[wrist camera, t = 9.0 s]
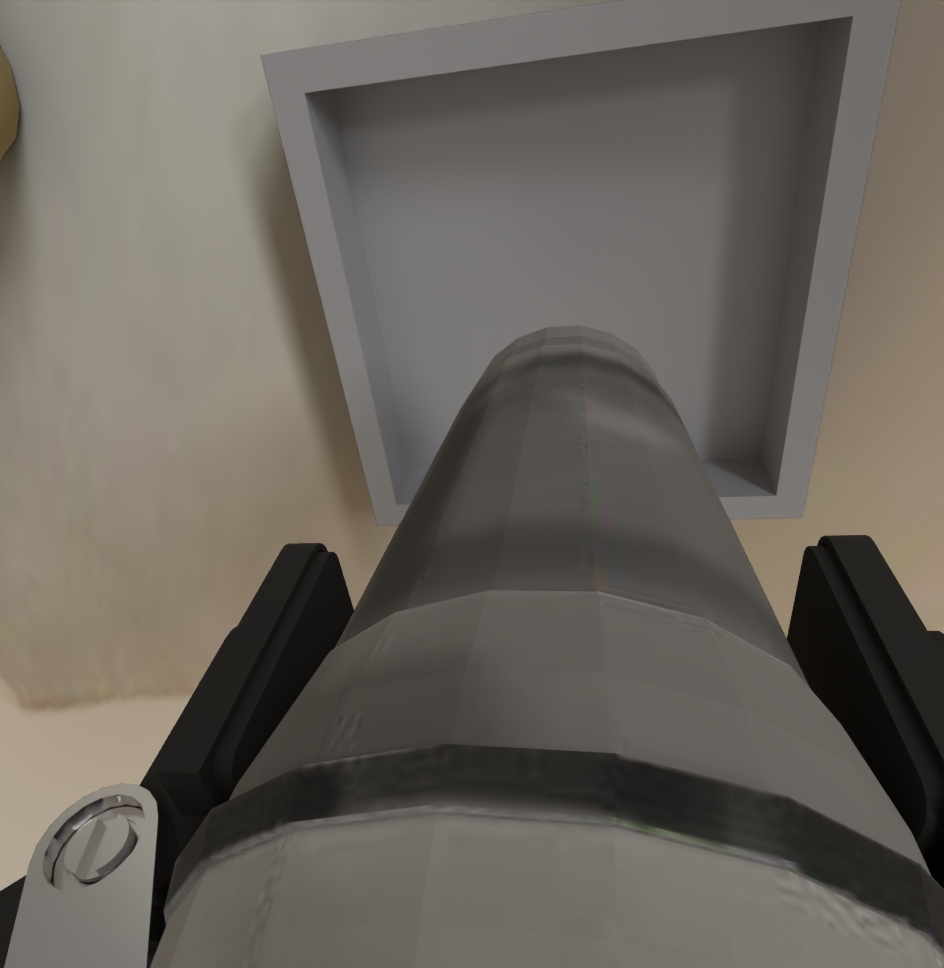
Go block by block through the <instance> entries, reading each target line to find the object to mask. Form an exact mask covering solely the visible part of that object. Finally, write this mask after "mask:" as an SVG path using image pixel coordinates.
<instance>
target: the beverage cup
mask: <svg viewBox="0 0 944 968" xmlns="http://www.w3.org/2000/svg"><path fill="white" fill-rule="evenodd" d="M164 916H165V924H166V928H165V931H164V933H163V936H162V938H161V941H160V943H159V946H158V948H157V951H156V953H155V956H154V958H153V961H152V964H151V966H150V968H944V889H943V888H942V887H941V886H940V885H939V884H938V883H937V882H936V881H935V880H934V878H933V877H932V876H931V874H930V872H929V870H928V867H927V865H926V863H925V861H924V858H923V856H922V854H921V852H920V850H919V847H918V845H917V843H916V841H915V839H914V836H913V834H912V832H911V830H910V829H909V827H908V826H907V824H906V823H905V821H904V820H903V818H902V817H901V815H900V814H899V812H898V811H897V809H896V808H895V806H894V804H893V803H892V801H891V800H890V798H889V797H888V795H887V794H886V792H885V791H884V789H883V788H882V786H881V785H880V783H879V782H878V780H877V778H876V777H875V775H874V774H873V772H872V771H871V769H870V768H869V766H868V765H867V763H866V762H865V760H864V759H863V757H862V756H861V754H860V753H859V751H858V749H857V748H856V746H855V745H854V743H853V742H852V740H851V739H850V737H849V736H848V734H847V733H846V731H845V730H844V728H843V727H842V725H841V724H840V723H839V721H838V720H837V719H836V718H835V717H834V716H833V714H832V713H831V712H830V711H829V710H828V709H827V708H826V706H825V705H824V704H823V703H822V702H821V701H820V699H819V698H818V697H817V696H816V695H815V694H814V693H813V691H812V690H811V689H810V687H809V685H808V682H807V680H806V678H805V676H804V674H803V672H802V670H801V668H800V666H799V664H798V662H797V660H796V657H795V655H794V653H793V651H792V649H791V647H790V645H789V643H788V641H787V639H786V637H785V635H784V632H783V630H782V628H781V626H780V624H779V622H778V620H777V618H776V616H775V614H774V612H773V609H772V607H771V605H770V603H769V601H768V599H767V597H766V595H765V593H764V591H763V589H762V587H761V584H760V582H759V580H758V578H757V576H756V574H755V572H754V570H753V568H752V566H751V564H750V562H749V559H748V557H747V555H746V553H745V551H744V549H743V547H742V545H741V543H740V541H739V539H738V536H737V534H736V532H735V530H734V528H733V526H732V524H731V522H730V520H729V518H728V516H727V514H726V511H725V509H724V507H723V505H722V503H721V501H720V499H719V497H718V495H717V493H716V491H715V489H714V486H713V484H712V482H711V480H710V478H709V476H708V474H707V472H706V470H705V468H704V466H703V463H702V461H701V459H700V457H699V455H698V453H697V451H696V449H695V447H694V445H693V443H692V441H691V438H690V436H689V434H688V432H687V430H686V428H685V426H684V424H683V422H682V420H681V418H680V415H679V413H678V411H677V409H676V407H675V405H674V403H673V401H672V399H671V398H670V397H669V396H668V394H667V393H666V392H665V390H664V389H663V388H662V387H661V385H660V384H659V383H658V379H657V376H656V373H655V372H654V371H653V369H652V368H651V367H650V365H649V364H648V363H647V362H646V360H645V359H644V358H643V357H642V355H641V354H640V353H639V351H638V350H637V349H635V348H634V347H632V346H630V345H629V344H627V343H626V342H624V341H623V340H621V339H619V338H618V337H616V336H615V335H613V334H612V333H608V332H604V331H600V330H596V329H593V328H589V327H585V326H581V325H576V326H557V327H546V328H543V329H541V330H538V331H535V332H533V333H530V334H527V335H524V336H522V337H519V338H517V339H516V340H515V341H513V342H512V343H511V344H509V345H508V346H507V347H506V348H504V349H503V350H502V351H501V352H499V353H498V354H497V355H495V356H494V357H493V359H492V361H491V362H490V364H489V365H488V367H487V368H486V370H485V371H484V373H483V374H482V376H481V377H480V379H479V381H478V382H477V384H476V385H475V387H474V388H473V390H472V391H471V393H470V394H469V396H468V397H467V399H466V400H465V402H464V403H463V405H462V407H461V408H460V410H459V412H458V414H457V416H456V418H455V420H454V422H453V424H452V425H451V427H450V429H449V431H448V433H447V435H446V437H445V439H444V441H443V443H442V444H441V446H440V448H439V450H438V452H437V454H436V456H435V458H434V460H433V462H432V464H431V465H430V467H429V469H428V471H427V473H426V475H425V477H424V479H423V481H422V483H421V485H420V486H419V488H418V490H417V492H416V494H415V496H414V498H413V500H412V502H411V504H410V505H409V507H408V509H407V511H406V513H405V515H404V517H403V519H402V521H401V523H400V525H399V526H398V528H397V530H396V532H395V534H394V536H393V538H392V540H391V542H390V544H389V545H388V547H387V549H386V551H385V553H384V555H383V557H382V559H381V561H380V563H379V565H378V566H377V568H376V570H375V572H374V574H373V576H372V578H371V580H370V582H369V584H368V586H367V587H366V589H365V591H364V593H363V595H362V597H361V599H360V601H359V603H358V605H357V606H356V608H355V610H354V612H353V614H352V616H351V618H350V620H349V622H348V624H347V626H346V627H345V629H344V631H343V633H342V635H341V637H340V639H339V641H338V643H337V645H336V646H335V648H334V649H333V650H331V651H330V652H329V653H328V655H327V656H326V658H325V659H324V661H323V662H322V663H321V665H320V666H319V668H318V669H317V671H316V672H315V673H314V675H313V676H312V678H311V679H310V681H309V682H308V683H307V685H306V686H305V688H304V689H303V691H302V692H301V693H300V695H299V696H298V698H297V699H296V701H295V702H294V703H293V705H292V706H291V708H290V709H289V711H288V712H287V713H286V715H285V716H284V718H283V719H282V721H281V722H280V723H279V725H278V726H277V728H276V729H275V731H274V732H273V733H272V735H271V736H270V738H269V739H268V741H267V742H266V743H265V745H264V746H263V748H262V749H261V751H260V752H259V753H258V755H257V756H256V758H255V759H254V761H253V762H252V763H251V765H250V766H249V768H248V769H247V771H246V772H245V773H244V775H243V776H242V778H241V779H240V781H239V782H238V784H237V785H236V787H235V789H234V791H233V793H232V795H231V797H230V799H229V801H227V802H225V803H223V804H221V805H219V806H217V807H215V808H213V809H211V810H210V812H209V813H208V815H207V816H206V818H205V819H204V821H203V822H202V824H201V825H200V827H199V828H198V830H197V831H196V832H195V834H194V835H193V837H192V838H191V840H190V841H189V843H188V844H187V846H186V847H185V849H184V850H183V852H182V853H181V854H180V856H179V857H178V859H177V860H176V862H175V865H174V869H173V874H172V878H171V882H170V886H169V890H168V894H167V899H166V903H165V907H164Z"/></svg>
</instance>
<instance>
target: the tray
mask: <svg viewBox="0 0 944 968" xmlns="http://www.w3.org/2000/svg"><path fill="white" fill-rule="evenodd" d="M900 2H901V0H619V1H612V2H605V3H599V4H592V5H586V6H579V7H573V8H566V9H560V10H553V11H547V12H540V13H534V14H527V15H520V16H514V17H507V18H501V19H494V20H488V21H481V22H475V23H468V24H462V25H455V26H448V27H442V28H435V29H429V30H422V31H416V32H409V33H403V34H396V35H390V36H383V37H377V38H370V39H363V40H357V41H350V42H344V43H337V44H331V45H324V46H318V47H311V48H305V49H298V50H291V51H285V52H278V53H272V54H265V55H260V56H261V60H262V64H263V68H264V72H265V76H266V80H267V84H268V88H269V92H270V96H271V100H272V104H273V108H274V112H275V116H276V120H277V125H278V129H279V133H280V137H281V141H282V145H283V149H284V153H285V157H286V161H287V165H288V169H289V173H290V177H291V181H292V185H293V189H294V193H295V197H296V201H297V205H298V209H299V213H300V217H301V221H302V225H303V229H304V233H305V237H306V241H307V245H308V249H309V253H310V257H311V261H312V265H313V269H314V273H315V277H316V282H317V286H318V290H319V294H320V298H321V302H322V306H323V310H324V314H325V318H326V322H327V326H328V330H329V334H330V338H331V342H332V346H333V350H334V354H335V358H336V362H337V366H338V370H339V374H340V378H341V382H342V386H343V390H344V394H345V398H346V402H347V406H348V410H349V414H350V418H351V422H352V426H353V430H354V434H355V439H356V443H357V447H358V451H359V455H360V459H361V463H362V467H363V471H364V475H365V479H366V483H367V487H368V491H369V495H370V499H371V503H372V507H373V511H374V515H375V519H376V523H377V526H378V525H400V523H401V521H402V519H403V517H404V515H405V513H406V511H407V509H408V507H409V505H410V504H411V502H412V500H413V498H414V496H415V494H416V492H417V490H418V488H419V486H420V485H421V483H422V481H423V479H424V477H425V475H426V473H427V471H428V469H429V467H430V465H431V464H432V462H433V460H434V458H435V456H436V454H437V452H438V450H439V448H440V446H441V444H442V443H443V441H444V439H445V437H446V435H447V433H448V431H449V429H450V427H451V425H452V424H453V422H454V420H455V418H456V416H457V414H458V412H459V410H460V408H461V407H462V405H463V403H464V402H465V400H466V399H467V397H468V396H469V394H470V393H471V391H472V390H473V388H474V387H475V385H476V384H477V382H478V381H479V379H480V377H481V376H482V374H483V373H484V371H485V370H486V368H487V367H488V365H489V364H490V362H491V361H492V359H493V357H494V356H495V355H497V354H498V353H499V352H501V351H502V350H503V349H504V348H506V347H507V346H508V345H509V344H511V343H512V342H513V341H515V340H516V339H517V338H519V337H522V336H524V335H527V334H530V333H533V332H535V331H538V330H541V329H543V328H546V327H557V326H576V325H581V326H585V327H589V328H593V329H596V330H600V331H604V332H608V333H612V334H613V335H615V336H616V337H618V338H619V339H621V340H623V341H624V342H626V343H627V344H629V345H630V346H632V347H634V348H635V349H637V350H638V351H639V353H640V354H641V355H642V357H643V358H644V359H645V360H646V362H647V363H648V364H649V365H650V367H651V368H652V369H653V371H654V372H655V373H656V376H657V379H658V383H659V384H660V385H661V387H662V388H663V389H664V390H665V392H666V393H667V394H668V396H669V397H670V398H671V399H672V401H673V403H674V405H675V407H676V409H677V411H678V413H679V415H680V418H681V420H682V422H683V424H684V426H685V428H686V430H687V432H688V434H689V436H690V438H691V441H692V443H693V445H694V447H695V449H696V451H697V453H698V455H699V457H700V459H701V461H702V463H703V466H704V468H705V470H706V472H707V474H708V476H709V478H710V480H711V482H712V484H713V486H714V489H715V491H716V493H717V495H718V497H719V499H720V501H721V503H722V505H723V507H724V509H725V511H726V514H727V516H728V518H729V519H774V518H802V517H803V512H804V506H805V501H806V496H807V491H808V485H809V480H810V475H811V470H812V464H813V459H814V454H815V449H816V443H817V438H818V433H819V428H820V422H821V417H822V412H823V407H824V401H825V396H826V391H827V386H828V380H829V375H830V370H831V365H832V359H833V354H834V349H835V344H836V338H837V333H838V328H839V323H840V317H841V312H842V307H843V302H844V296H845V291H846V286H847V281H848V275H849V270H850V265H851V259H852V254H853V249H854V244H855V238H856V233H857V228H858V223H859V217H860V212H861V207H862V202H863V196H864V191H865V186H866V181H867V175H868V170H869V165H870V160H871V154H872V149H873V144H874V139H875V133H876V128H877V123H878V118H879V112H880V107H881V102H882V97H883V91H884V86H885V81H886V76H887V70H888V65H889V60H890V55H891V49H892V44H893V39H894V34H895V28H896V23H897V18H898V13H899V7H900Z"/></svg>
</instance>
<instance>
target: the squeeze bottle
mask: <svg viewBox="0 0 944 968" xmlns="http://www.w3.org/2000/svg"><path fill="white" fill-rule="evenodd" d="M19 110H20V103H19V99H18V94H17V90H16V86H15V82H14V78H13V73H12V69H11V65H10V63H9V62H8V60H7V58H6V56H5V54H4V52H3V51H2V49H1V47H0V160H1V159H2V157H3V156H4V154H5V153H6V151H7V150H8V149H9V147H10V146H11V144H12V143H13V142H14V140H15V139H16V136H17V127H18V118H19Z"/></svg>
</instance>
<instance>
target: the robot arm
mask: <svg viewBox="0 0 944 968" xmlns="http://www.w3.org/2000/svg"><path fill="white" fill-rule="evenodd" d="M353 612H354V609H353V606H352V603H351V599H350V596H349V593H348V589H347V586H346V583H345V579H344V576H343V572H342V569H341V566H340V562H339V559H338V557H337V555H336V554H335V553H334V552H328V551H327V549H326V547H325V546H324V545H323V544H321V543H299V544H287V545H285V546H284V547H283V549H282V550H281V552H280V553H279V555H278V557H277V559H276V560H275V562H274V564H273V566H272V567H271V569H270V571H269V572H268V574H267V576H266V578H265V579H264V581H263V583H262V585H261V586H260V588H259V590H258V592H257V593H256V595H255V597H254V598H253V600H252V602H251V604H250V605H249V607H248V609H247V611H246V612H245V614H244V616H243V617H242V619H241V621H240V623H239V624H238V626H237V627H235V628H234V629H232V631H231V632H230V633H229V634H228V636H227V637H226V639H225V640H224V642H223V644H222V645H221V647H220V649H219V651H218V652H217V654H216V656H215V657H214V659H213V661H212V663H211V664H210V666H209V668H208V669H207V671H206V673H205V675H204V676H203V678H202V680H201V681H200V683H199V685H198V686H197V688H196V690H195V692H194V693H193V695H192V697H191V698H190V700H189V702H188V704H187V705H186V707H185V709H184V710H183V712H182V714H181V716H180V717H179V719H178V721H177V723H176V724H175V726H174V727H173V729H172V731H171V733H170V734H169V736H168V738H167V739H166V741H165V743H164V745H163V746H162V748H161V750H160V751H159V753H158V755H157V757H156V758H155V760H154V762H153V763H152V765H151V767H150V768H149V770H148V772H147V774H146V775H145V777H144V779H143V780H142V782H141V784H140V786H139V785H136V784H117V785H112V786H108V787H103V788H101V789H99V790H97V791H95V792H93V793H91V794H88V795H87V796H84V797H83V798H81V799H80V800H78V801H77V802H76V803H74V804H73V805H71V806H70V807H69V808H67V809H66V810H65V811H64V812H63V813H62V814H61V815H60V816H59V817H58V818H57V819H56V820H55V821H54V822H53V823H52V824H51V825H50V826H49V827H48V829H47V830H46V832H45V833H44V835H43V836H42V838H41V839H40V841H39V842H38V844H37V845H36V848H35V850H34V853H33V855H32V858H31V861H30V863H29V867H28V871H27V875H26V876H24V877H23V878H21V879H19V880H18V881H16V882H14V883H13V884H11V885H10V886H8V887H6V888H5V889H3V890H2V891H0V968H150V966H151V964H152V961H153V958H154V956H155V953H156V951H157V948H158V946H159V943H160V941H161V938H162V936H163V933H164V931H165V928H166V924H165V916H164V907H165V903H166V899H167V894H168V890H169V886H170V882H171V878H172V874H173V869H174V865H175V862H176V860H177V859H178V857H179V856H180V854H181V853H182V852H183V850H184V849H185V847H186V846H187V844H188V843H189V841H190V840H191V838H192V837H193V835H194V834H195V832H196V831H197V830H198V828H199V827H200V825H201V824H202V822H203V821H204V819H205V818H206V816H207V815H208V813H209V812H210V810H211V809H213V808H215V807H217V806H219V805H221V804H223V803H225V802H227V801H229V799H230V797H231V795H232V793H233V791H234V789H235V787H236V785H237V784H238V782H239V781H240V779H241V778H242V776H243V775H244V773H245V772H246V771H247V769H248V768H249V766H250V765H251V763H252V762H253V761H254V759H255V758H256V756H257V755H258V753H259V752H260V751H261V749H262V748H263V746H264V745H265V743H266V742H267V741H268V739H269V738H270V736H271V735H272V733H273V732H274V731H275V729H276V728H277V726H278V725H279V723H280V722H281V721H282V719H283V718H284V716H285V715H286V713H287V712H288V711H289V709H290V708H291V706H292V705H293V703H294V702H295V701H296V699H297V698H298V696H299V695H300V693H301V692H302V691H303V689H304V688H305V686H306V685H307V683H308V682H309V681H310V679H311V678H312V676H313V675H314V673H315V672H316V671H317V669H318V668H319V666H320V665H321V663H322V662H323V661H324V659H325V658H326V656H327V655H328V653H329V652H330V651H331V650H333V649H334V648H335V646H336V645H337V643H338V641H339V639H340V637H341V635H342V633H343V631H344V629H345V627H346V626H347V624H348V622H349V620H350V618H351V616H352V614H353ZM787 641H788V643H789V645H790V647H791V649H792V651H793V653H794V655H795V657H796V660H797V662H798V664H799V666H800V668H801V670H802V672H803V674H804V676H805V678H806V680H807V682H808V685H809V687H810V689H811V690H812V691H813V693H814V694H815V695H816V696H817V697H818V698H819V699H820V701H821V702H822V703H823V704H824V705H825V706H826V708H827V709H828V710H829V711H830V712H831V713H832V714H833V716H834V717H835V718H836V719H837V720H838V721H839V723H840V724H841V725H842V727H843V728H844V730H845V731H846V733H847V734H848V736H849V737H850V739H851V740H852V742H853V743H854V745H855V746H856V748H857V749H858V751H859V753H860V754H861V756H862V757H863V759H864V760H865V762H866V763H867V765H868V766H869V768H870V769H871V771H872V772H873V774H874V775H875V777H876V778H877V780H878V782H879V783H880V785H881V786H882V788H883V789H884V791H885V792H886V794H887V795H888V797H889V798H890V800H891V801H892V803H893V804H894V806H895V808H896V809H897V811H898V812H899V814H900V815H901V817H902V818H903V820H904V821H905V823H906V824H907V826H908V827H909V829H910V830H911V832H912V834H913V836H914V839H915V841H916V843H917V845H918V847H919V850H920V852H921V854H922V856H923V858H924V861H925V863H926V865H927V867H928V870H929V872H930V874H931V876H932V877H933V878H934V880H935V881H936V882H937V883H938V884H939V885H940V886H941V887H942V888H943V889H944V634H943V633H941V632H940V631H927V629H926V628H925V626H924V624H923V623H922V621H921V619H920V618H919V616H918V614H917V613H916V611H915V609H914V608H913V606H912V604H911V603H910V601H909V599H908V598H907V596H906V594H905V593H904V591H903V589H902V588H901V586H900V584H899V583H898V581H897V579H896V578H895V576H894V574H893V573H892V571H891V569H890V568H889V566H888V564H887V563H886V561H885V559H884V558H883V556H882V554H881V553H880V551H879V549H878V548H877V546H876V544H875V543H874V541H873V540H872V539H871V538H870V537H869V536H867V535H844V536H823V537H821V538H820V540H819V542H818V545H817V546H808V547H807V548H806V549H805V551H804V555H803V560H802V565H801V570H800V575H799V580H798V585H797V590H796V595H795V601H794V606H793V611H792V616H791V621H790V626H789V631H788V636H787Z"/></svg>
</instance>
